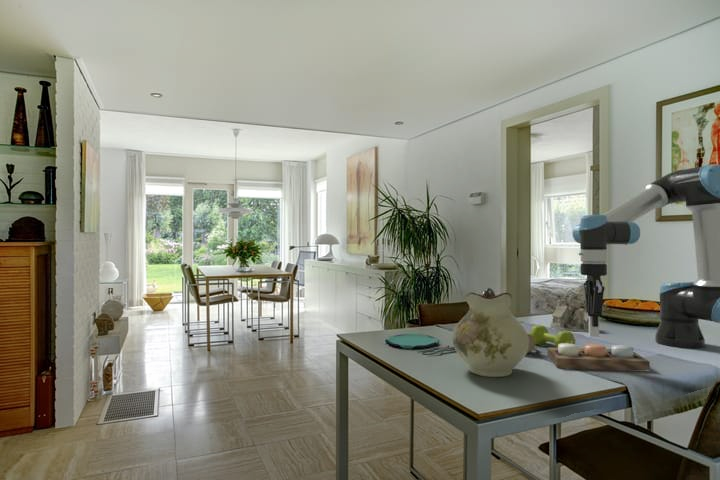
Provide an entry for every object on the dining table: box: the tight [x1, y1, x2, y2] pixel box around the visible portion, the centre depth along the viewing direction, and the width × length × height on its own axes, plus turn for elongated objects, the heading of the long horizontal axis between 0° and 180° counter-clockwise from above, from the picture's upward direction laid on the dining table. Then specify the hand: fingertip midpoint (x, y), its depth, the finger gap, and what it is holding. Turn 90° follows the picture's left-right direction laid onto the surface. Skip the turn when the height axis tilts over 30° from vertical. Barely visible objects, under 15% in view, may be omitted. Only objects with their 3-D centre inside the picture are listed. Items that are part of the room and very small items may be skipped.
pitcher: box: [452, 287, 529, 378], centre depth 136 cm, size 22×24×25 cm
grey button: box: [610, 344, 634, 358], centre depth 141 cm, size 6×6×4 cm
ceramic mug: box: [526, 332, 538, 354], centre depth 159 cm, size 11×8×8 cm
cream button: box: [558, 343, 579, 356], centre depth 144 cm, size 6×6×4 cm
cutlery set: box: [384, 333, 457, 358], centre depth 169 cm, size 20×30×2 cm, turn 28°
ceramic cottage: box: [549, 294, 589, 333], centre depth 196 cm, size 16×16×15 cm
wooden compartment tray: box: [546, 347, 651, 371], centre depth 142 cm, size 26×14×3 cm, turn 78°
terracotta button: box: [583, 343, 606, 357], centre depth 142 cm, size 6×6×4 cm
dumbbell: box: [529, 324, 576, 348], centre depth 164 cm, size 16×8×7 cm, turn 21°
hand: (593, 336), depth 142 cm, fingers closed
